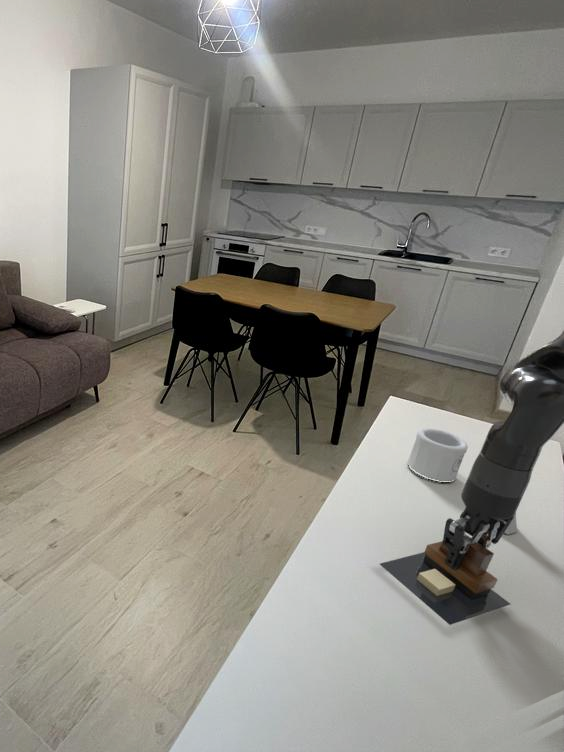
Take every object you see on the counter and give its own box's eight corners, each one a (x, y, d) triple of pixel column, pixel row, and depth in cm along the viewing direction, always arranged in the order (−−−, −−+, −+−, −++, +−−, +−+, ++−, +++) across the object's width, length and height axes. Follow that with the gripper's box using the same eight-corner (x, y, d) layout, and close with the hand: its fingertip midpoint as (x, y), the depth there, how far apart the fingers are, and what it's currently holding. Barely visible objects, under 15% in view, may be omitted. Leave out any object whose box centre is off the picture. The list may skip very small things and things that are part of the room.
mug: (444, 489, 119) (458, 452, 115) (398, 467, 127) (410, 433, 123) (466, 473, 126) (480, 439, 123) (422, 454, 134) (434, 421, 131)
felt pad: (432, 574, 89) (435, 568, 89) (453, 591, 86) (456, 584, 85) (416, 579, 88) (419, 572, 88) (436, 596, 85) (439, 589, 84)
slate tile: (435, 552, 97) (436, 548, 96) (509, 608, 85) (511, 603, 84) (377, 567, 92) (379, 563, 91) (447, 629, 79) (449, 624, 79)
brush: (438, 555, 94) (452, 521, 91) (490, 594, 86) (507, 558, 83) (421, 559, 93) (435, 524, 90) (472, 600, 84) (489, 563, 81)
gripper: (489, 502, 76) (452, 588, 82) (548, 489, 81) (509, 571, 87) (444, 476, 83) (413, 557, 89) (502, 465, 87) (468, 543, 94)
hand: (461, 563), depth 88 cm, fingers closed on brush, 4 cm apart
